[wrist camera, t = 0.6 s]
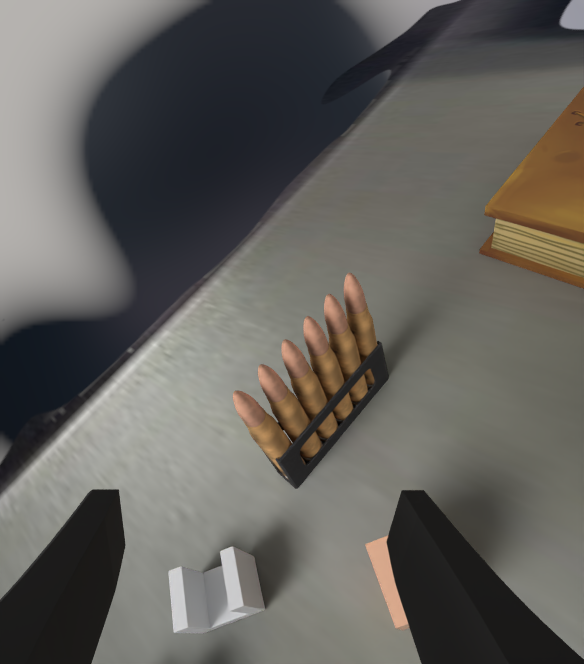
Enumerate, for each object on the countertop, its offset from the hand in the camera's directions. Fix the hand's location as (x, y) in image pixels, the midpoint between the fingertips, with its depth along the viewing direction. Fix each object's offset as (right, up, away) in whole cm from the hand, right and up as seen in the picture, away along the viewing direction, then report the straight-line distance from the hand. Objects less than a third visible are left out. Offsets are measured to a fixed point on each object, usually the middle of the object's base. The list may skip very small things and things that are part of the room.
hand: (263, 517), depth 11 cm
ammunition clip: (+4, -2, +20) cm, 21 cm away
